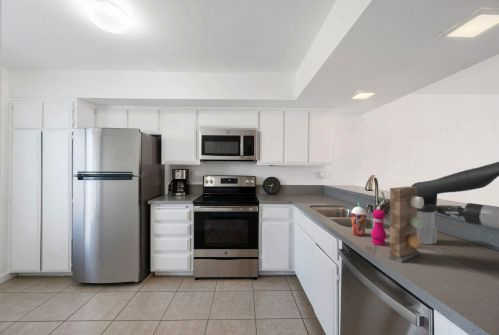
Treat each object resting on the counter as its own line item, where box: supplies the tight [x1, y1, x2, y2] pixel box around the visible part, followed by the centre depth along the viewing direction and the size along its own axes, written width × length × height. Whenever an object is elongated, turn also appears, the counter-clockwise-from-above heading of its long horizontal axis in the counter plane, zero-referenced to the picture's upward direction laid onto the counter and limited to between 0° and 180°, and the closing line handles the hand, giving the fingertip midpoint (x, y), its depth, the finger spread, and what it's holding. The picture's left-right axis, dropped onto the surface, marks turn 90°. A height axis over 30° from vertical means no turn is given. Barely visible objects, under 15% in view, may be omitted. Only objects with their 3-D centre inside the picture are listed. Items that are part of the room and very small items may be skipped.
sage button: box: [410, 216, 424, 229], centre depth 95 cm, size 3×5×5 cm, turn 120°
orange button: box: [407, 235, 421, 249], centre depth 97 cm, size 3×5×5 cm, turn 120°
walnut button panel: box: [388, 186, 421, 263], centre depth 100 cm, size 5×17×32 cm, turn 120°
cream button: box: [411, 196, 424, 208], centre depth 95 cm, size 3×5×5 cm, turn 120°
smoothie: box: [350, 202, 367, 237], centre depth 131 cm, size 8×8×20 cm
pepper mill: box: [370, 206, 387, 247], centre depth 116 cm, size 7×7×20 cm
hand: (426, 206), depth 92 cm, fingers closed
